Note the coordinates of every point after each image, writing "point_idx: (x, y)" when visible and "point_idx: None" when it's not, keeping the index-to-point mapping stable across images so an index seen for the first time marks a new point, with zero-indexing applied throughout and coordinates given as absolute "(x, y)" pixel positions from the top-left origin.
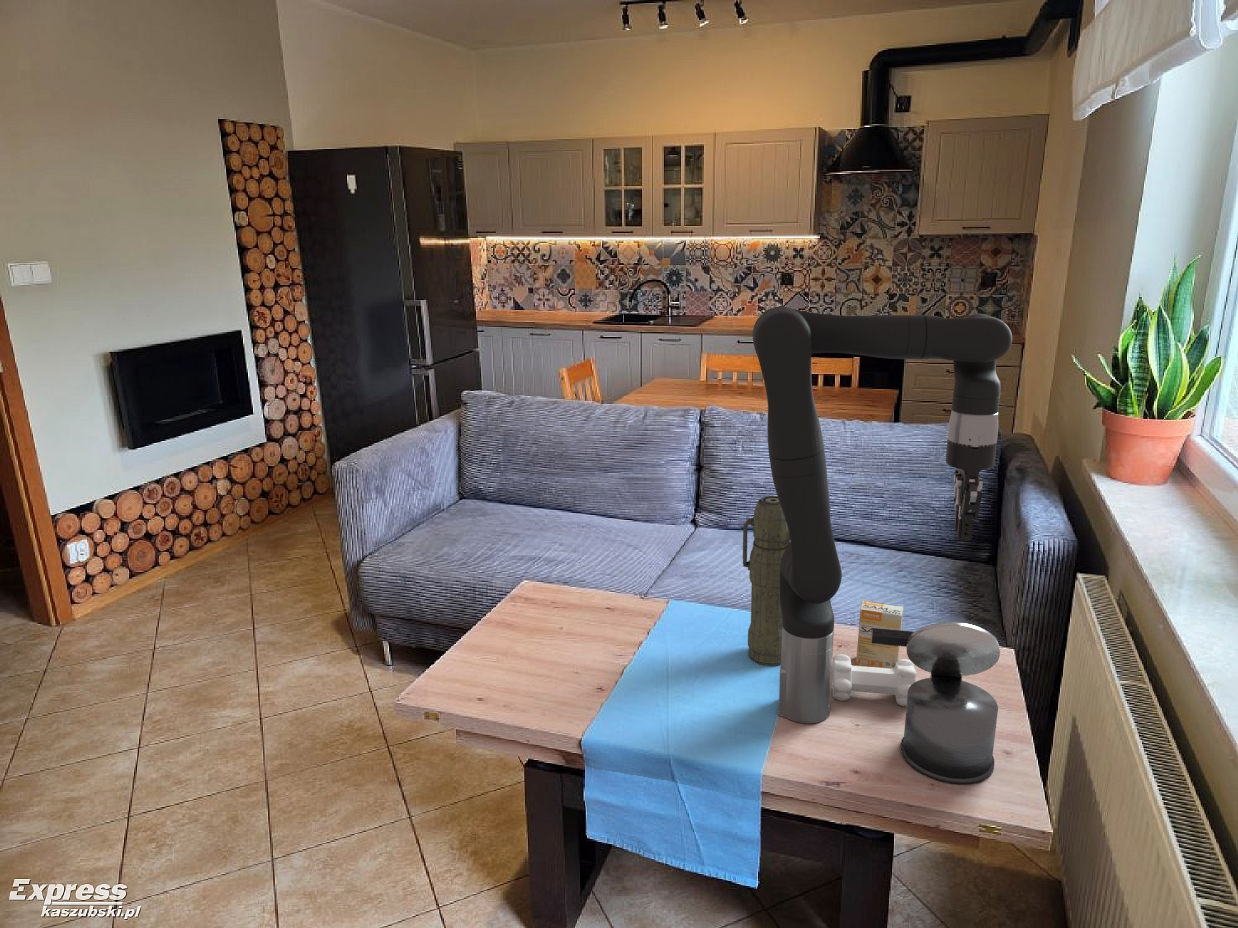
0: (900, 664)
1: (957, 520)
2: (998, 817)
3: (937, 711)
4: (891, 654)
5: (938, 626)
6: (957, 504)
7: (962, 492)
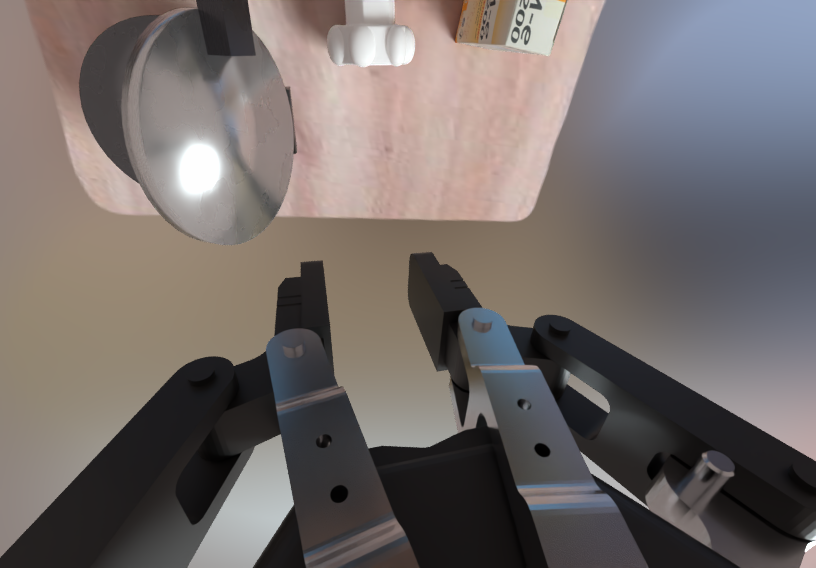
0: (387, 34)
1: (426, 290)
2: (79, 161)
3: (114, 81)
4: (469, 28)
5: (130, 101)
6: (462, 348)
7: (283, 549)
